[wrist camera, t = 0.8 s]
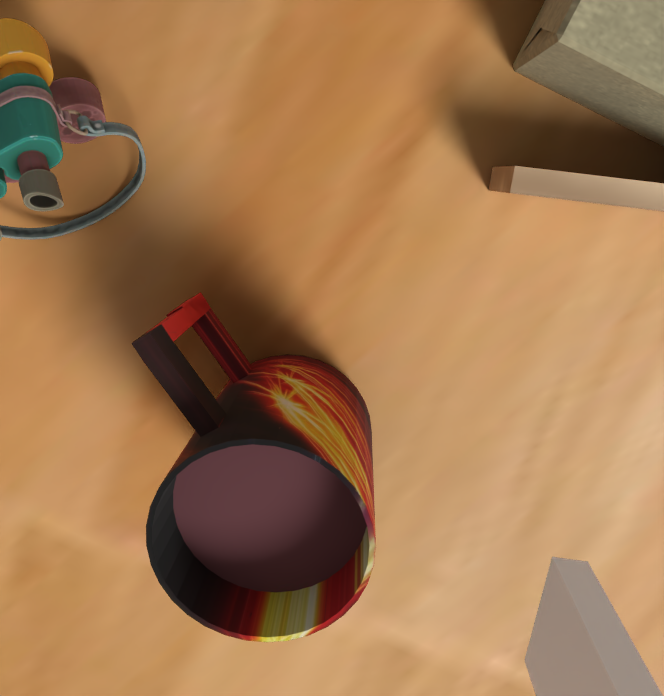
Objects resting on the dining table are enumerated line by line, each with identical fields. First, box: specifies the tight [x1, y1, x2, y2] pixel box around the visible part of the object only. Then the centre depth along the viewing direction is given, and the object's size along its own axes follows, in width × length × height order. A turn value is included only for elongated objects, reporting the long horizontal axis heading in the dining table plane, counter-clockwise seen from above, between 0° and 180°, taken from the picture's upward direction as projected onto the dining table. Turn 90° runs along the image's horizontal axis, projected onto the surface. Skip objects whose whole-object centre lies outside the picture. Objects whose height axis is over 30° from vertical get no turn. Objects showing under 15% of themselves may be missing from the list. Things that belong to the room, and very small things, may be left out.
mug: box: [132, 292, 376, 642], centre depth 32 cm, size 10×14×12 cm
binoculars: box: [0, 18, 146, 240], centre depth 30 cm, size 9×9×10 cm
